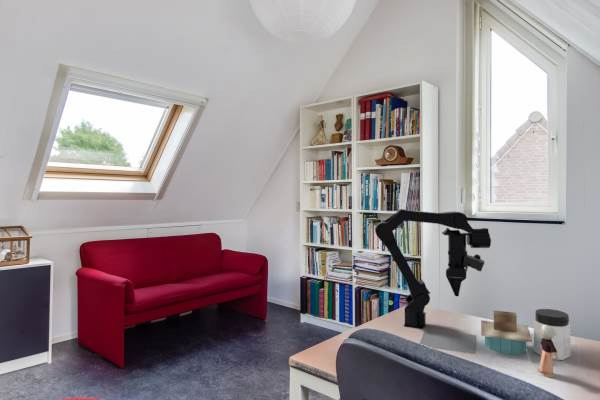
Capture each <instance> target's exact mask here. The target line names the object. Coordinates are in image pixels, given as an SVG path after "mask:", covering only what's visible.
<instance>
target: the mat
mask: <svg viewBox="0 0 600 400" xmlns="http://www.w3.org/2000/svg"><path fill="white" fill-rule="evenodd" d="M419 344H423V345H426V346H429V347H432V348H431V349H436V350H437V349H438V350H444V351H453V352H458V353H466V354H472V355H476V354H477V334H472V333H471V334H470V333H462V332H453V331H447V330H438V329H430V328H429V329H428V328H425V329H424V331H423V334H422V336H421V339H420V341H419ZM429 347H428V348H429Z"/></svg>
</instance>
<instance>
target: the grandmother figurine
mask: <svg viewBox="0 0 600 400" xmlns="http://www.w3.org/2000/svg"><path fill="white" fill-rule="evenodd" d="M541 329H542V332H541V335H542V337H543V338H542V339H541V345H540V349H542V350H543V351H542V356H540V362H539V365H540V366H539V367H538V369H537V370H538V372H539V373H542V376H544V377H545V378H555V377H556V374H555V373H554V361H555V360H556V361H557V359H558V357H557V350H556V348H555V346H554V344H553V342H552V340H551V339H552V337H554V336H556V335H557V334H556V332H555V331H554V329H553V328H552V327H550V326H547V325H543V326H542V328H541ZM552 355H553V358H552Z"/></svg>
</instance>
